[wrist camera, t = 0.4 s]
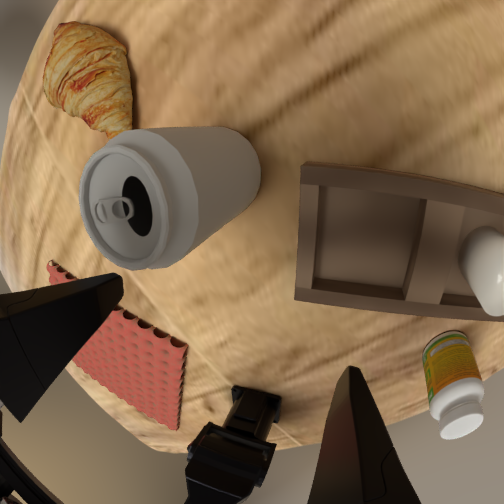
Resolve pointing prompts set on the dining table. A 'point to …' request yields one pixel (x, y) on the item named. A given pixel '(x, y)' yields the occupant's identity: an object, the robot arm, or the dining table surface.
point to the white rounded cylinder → (484, 267)
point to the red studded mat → (133, 363)
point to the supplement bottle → (453, 384)
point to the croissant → (89, 77)
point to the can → (165, 192)
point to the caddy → (389, 240)
